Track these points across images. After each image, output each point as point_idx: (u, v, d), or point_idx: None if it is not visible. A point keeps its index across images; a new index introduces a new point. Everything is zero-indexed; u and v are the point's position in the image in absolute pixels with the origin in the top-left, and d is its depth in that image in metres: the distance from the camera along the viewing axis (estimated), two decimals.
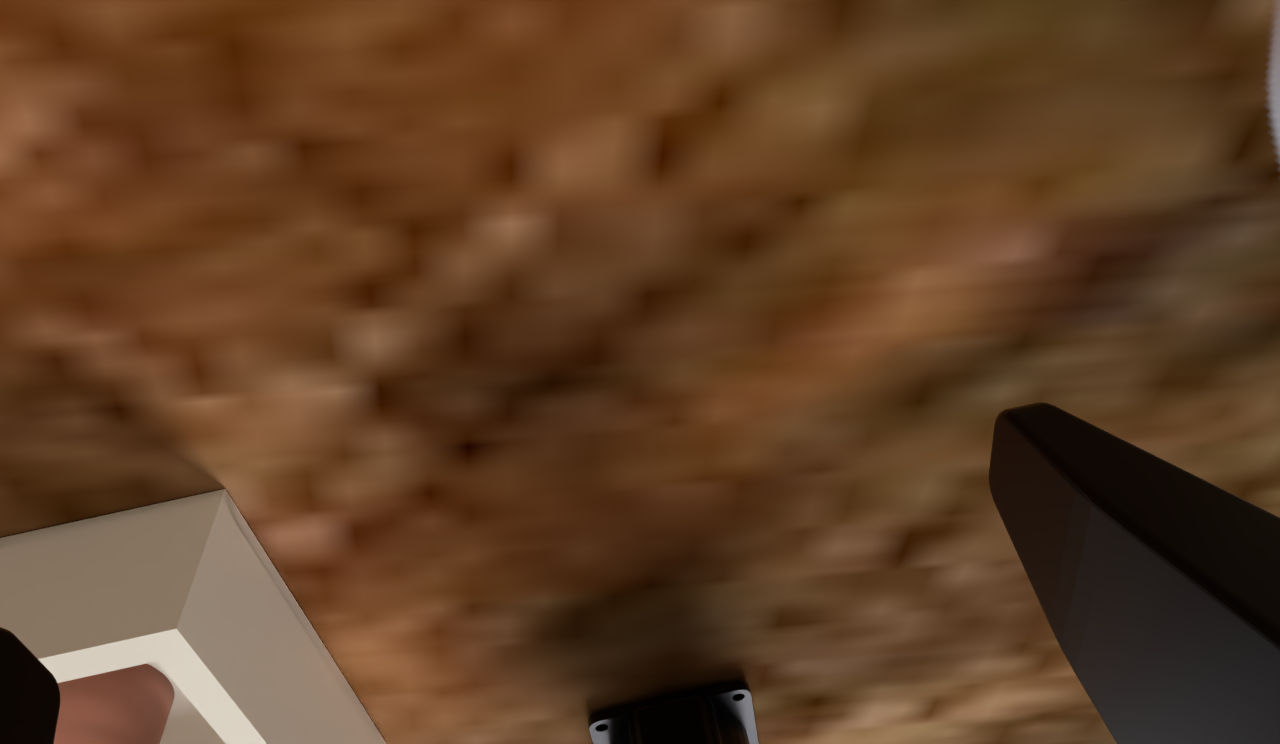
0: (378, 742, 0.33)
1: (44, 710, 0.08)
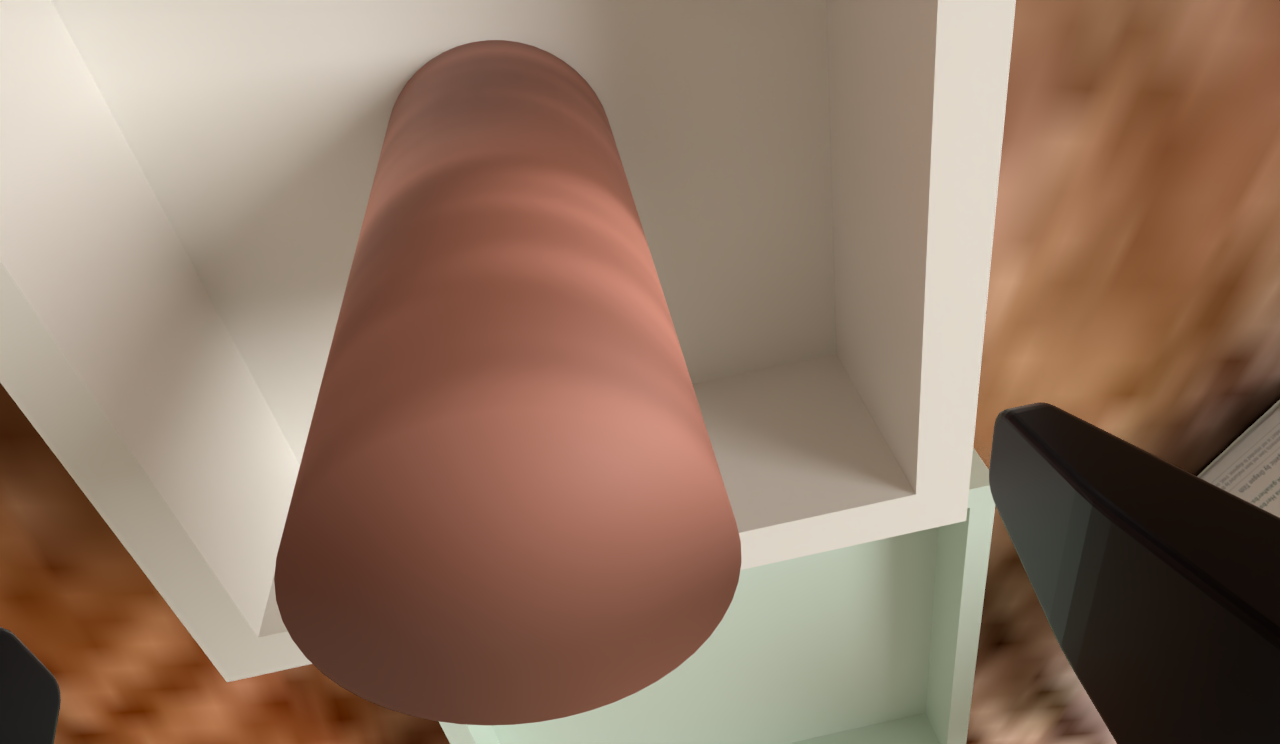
0: None
1: (44, 710, 0.08)
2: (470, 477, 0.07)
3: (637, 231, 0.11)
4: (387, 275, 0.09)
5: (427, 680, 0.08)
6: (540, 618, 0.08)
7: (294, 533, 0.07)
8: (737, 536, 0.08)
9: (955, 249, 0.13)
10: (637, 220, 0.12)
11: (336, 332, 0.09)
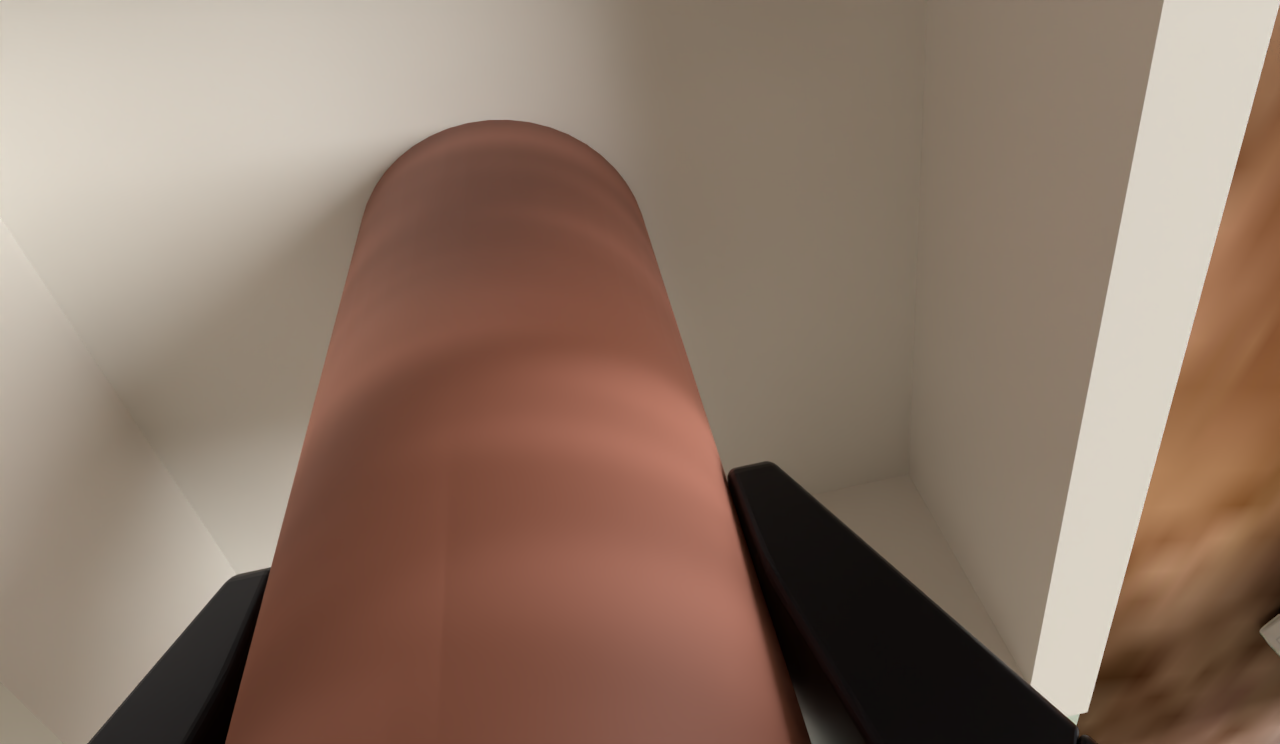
0: None
1: None
2: None
3: (703, 432, 0.08)
4: (327, 586, 0.05)
5: None
6: None
7: None
8: None
9: (1119, 418, 0.10)
10: (698, 402, 0.08)
11: (251, 652, 0.06)
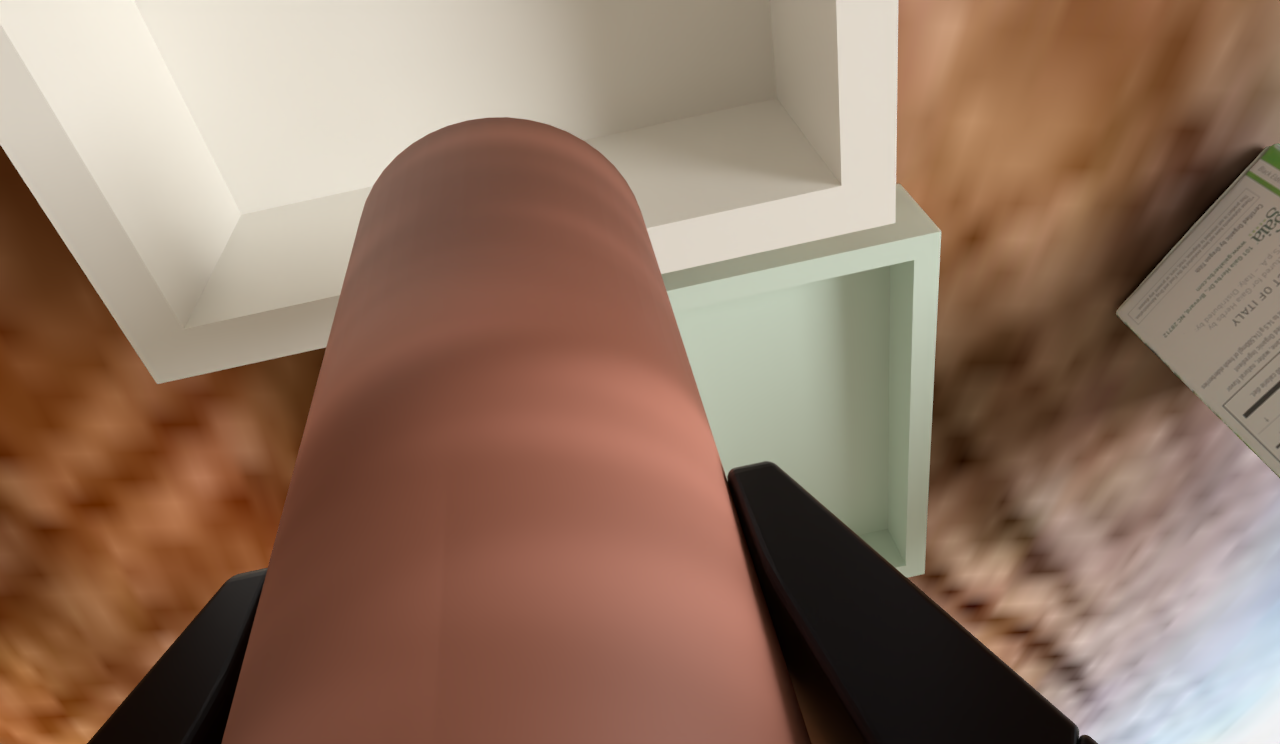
0: None
1: None
2: None
3: (702, 430, 0.08)
4: (326, 582, 0.05)
5: None
6: None
7: None
8: None
9: None
10: (697, 400, 0.08)
11: (248, 650, 0.06)
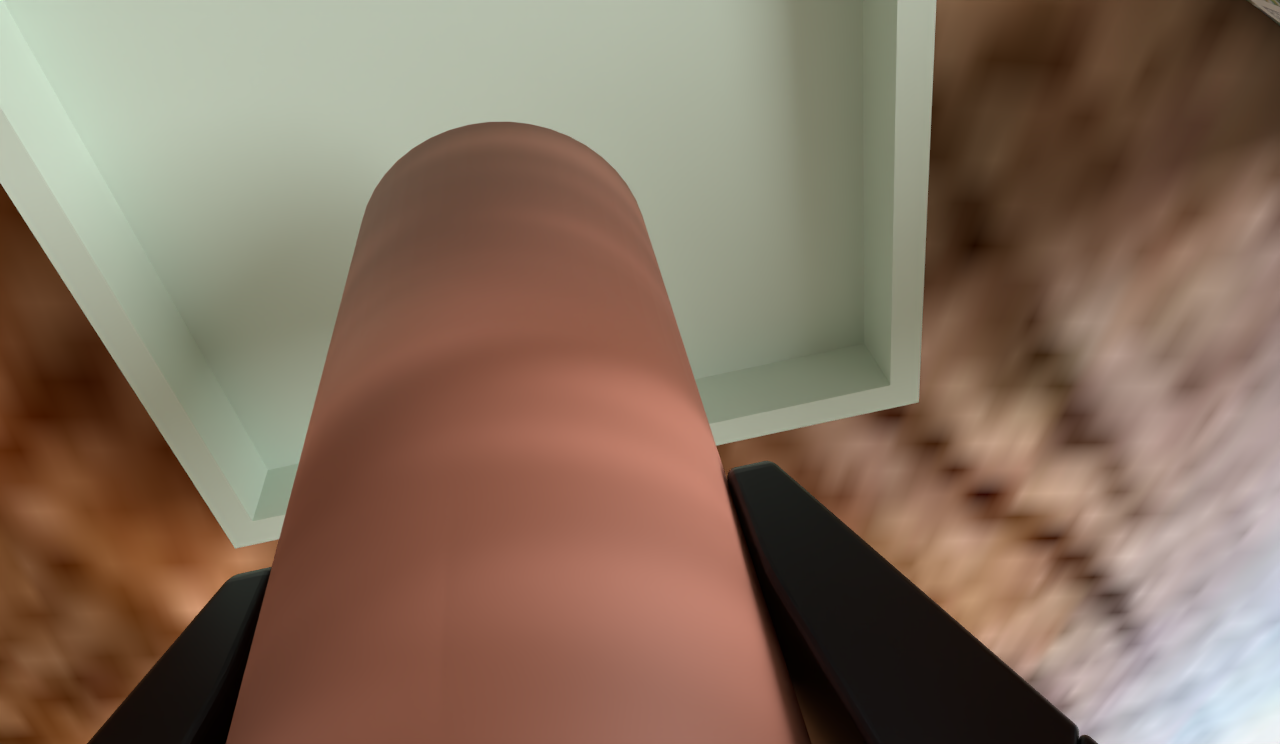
0: None
1: None
2: None
3: (704, 437, 0.08)
4: (326, 593, 0.05)
5: None
6: None
7: None
8: None
9: None
10: (699, 406, 0.08)
11: (251, 659, 0.06)
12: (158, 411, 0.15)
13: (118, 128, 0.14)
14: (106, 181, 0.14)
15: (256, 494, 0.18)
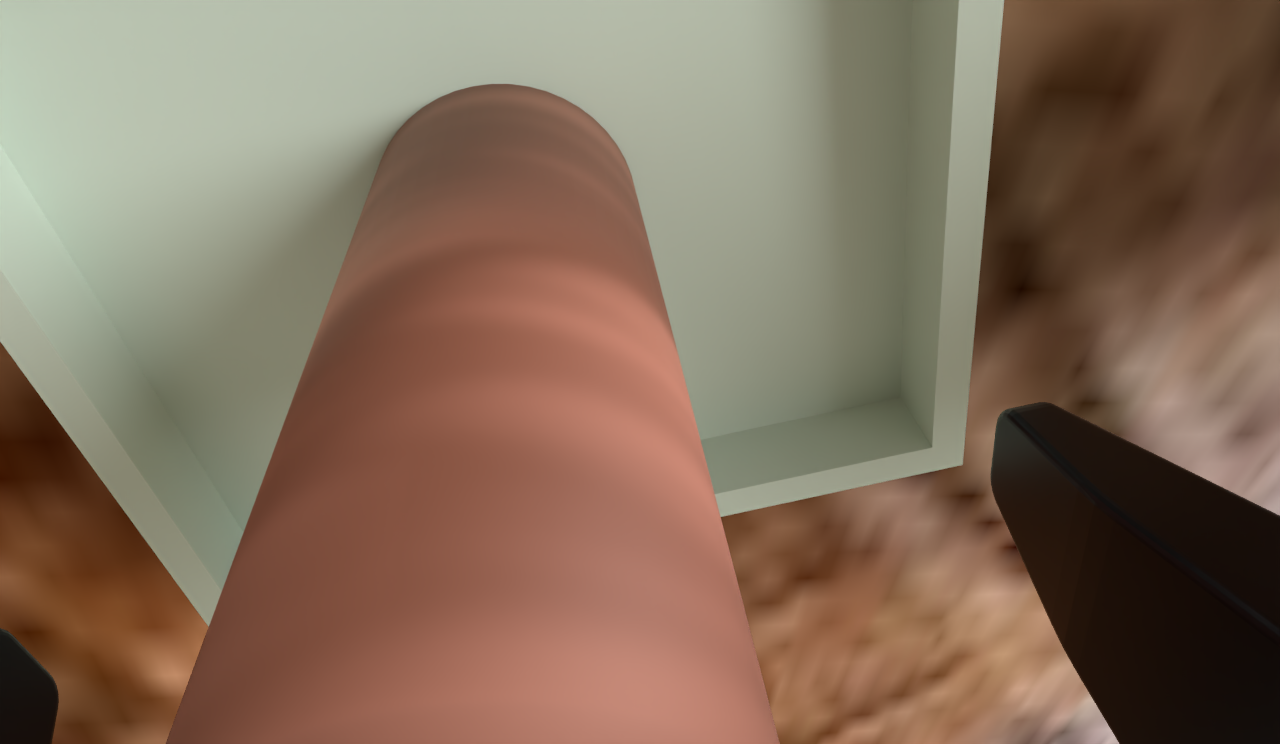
0: None
1: (42, 710, 0.08)
2: None
3: (663, 335, 0.09)
4: (325, 418, 0.07)
5: None
6: None
7: None
8: None
9: None
10: (663, 316, 0.09)
11: (261, 484, 0.07)
12: (118, 485, 0.14)
13: (67, 172, 0.12)
14: (56, 232, 0.13)
15: None
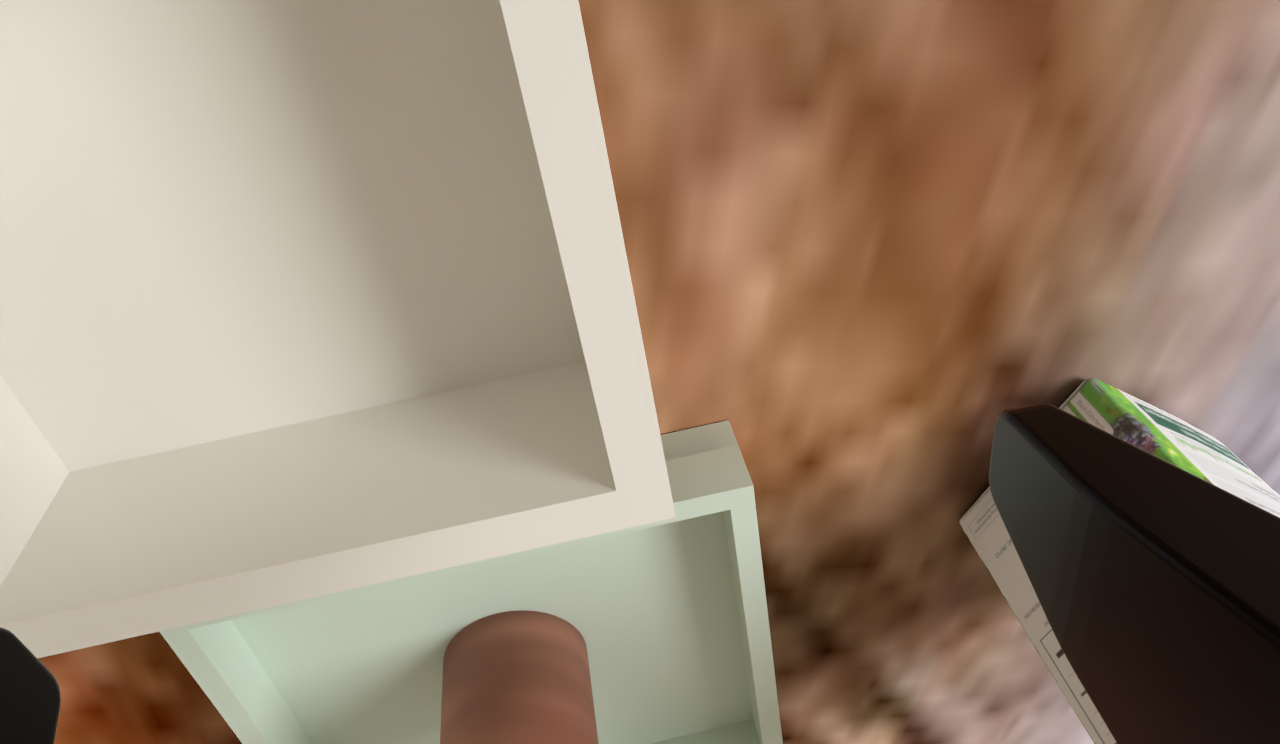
0: None
1: (44, 710, 0.08)
2: None
3: None
4: None
5: None
6: None
7: None
8: None
9: (588, 250, 0.14)
10: None
11: None
12: None
13: (285, 661, 0.23)
14: (275, 686, 0.24)
15: None
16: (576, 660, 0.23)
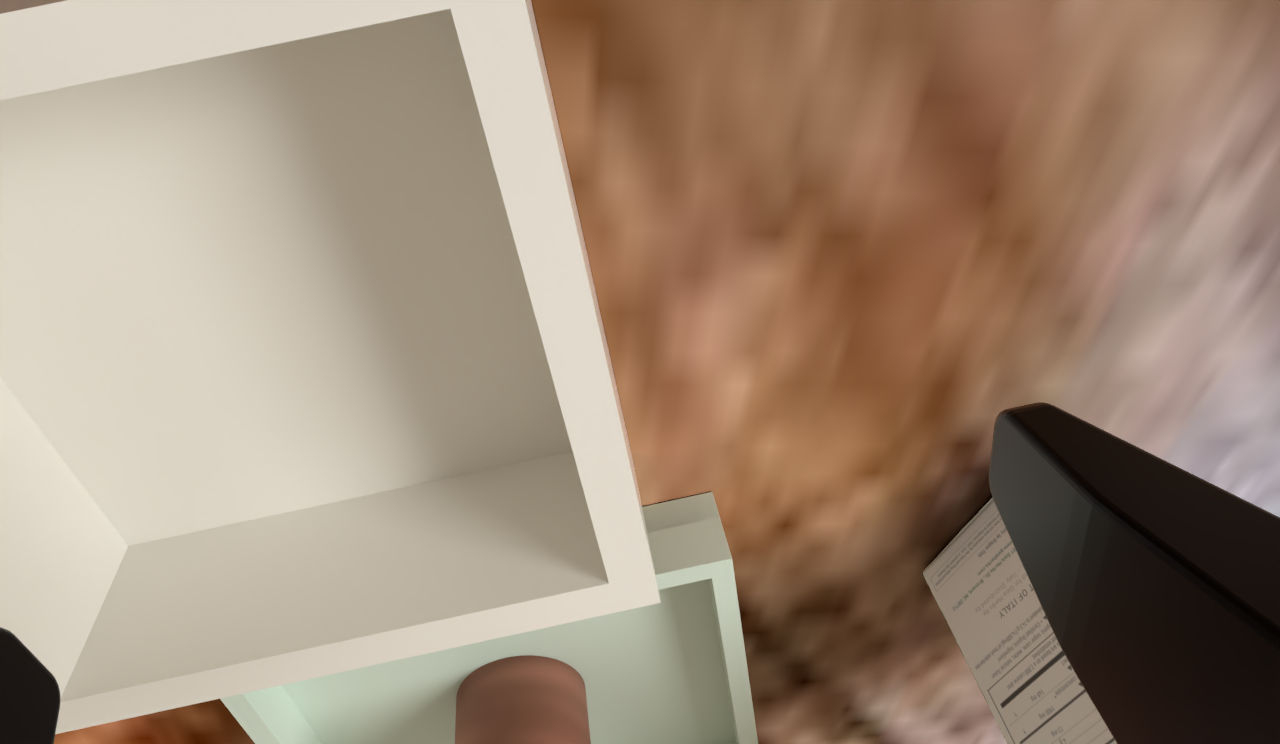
0: None
1: (44, 710, 0.08)
2: None
3: None
4: None
5: None
6: None
7: None
8: None
9: (584, 403, 0.16)
10: None
11: None
12: None
13: (315, 700, 0.26)
14: (306, 720, 0.27)
15: None
16: (575, 701, 0.26)
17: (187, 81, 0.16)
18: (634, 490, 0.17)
